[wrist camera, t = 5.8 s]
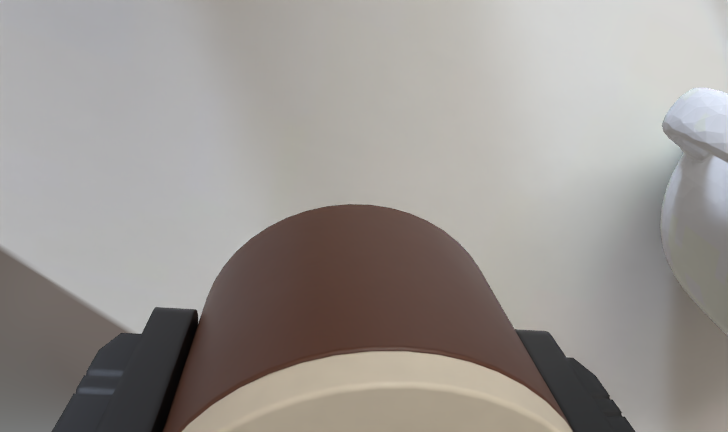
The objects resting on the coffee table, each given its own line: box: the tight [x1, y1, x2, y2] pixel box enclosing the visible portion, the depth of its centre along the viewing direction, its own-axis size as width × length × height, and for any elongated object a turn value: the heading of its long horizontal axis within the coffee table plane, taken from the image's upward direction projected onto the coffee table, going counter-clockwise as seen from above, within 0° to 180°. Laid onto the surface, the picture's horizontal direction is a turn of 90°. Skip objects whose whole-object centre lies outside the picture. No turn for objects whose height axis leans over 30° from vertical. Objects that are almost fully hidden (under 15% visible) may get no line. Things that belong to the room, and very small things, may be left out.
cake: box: [163, 204, 573, 432], centre depth 9 cm, size 6×6×5 cm
